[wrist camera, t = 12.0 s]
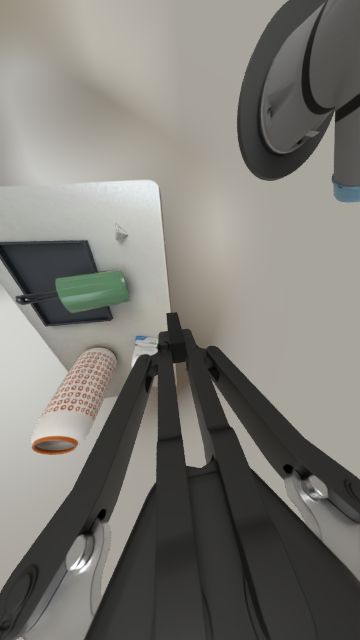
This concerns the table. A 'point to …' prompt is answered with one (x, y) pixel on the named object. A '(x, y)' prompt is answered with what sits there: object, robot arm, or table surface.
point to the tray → (51, 276)
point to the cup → (92, 290)
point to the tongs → (22, 298)
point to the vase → (75, 403)
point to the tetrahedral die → (120, 232)
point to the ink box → (144, 347)
